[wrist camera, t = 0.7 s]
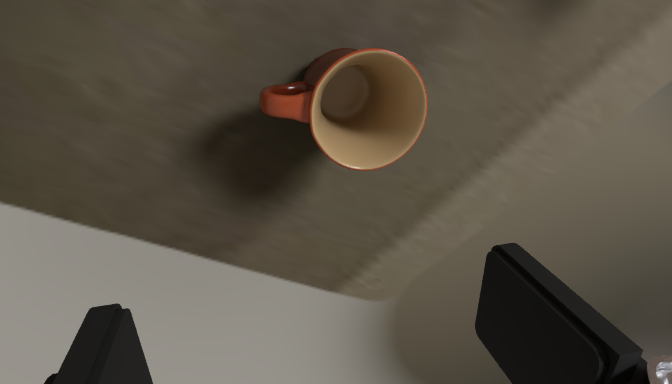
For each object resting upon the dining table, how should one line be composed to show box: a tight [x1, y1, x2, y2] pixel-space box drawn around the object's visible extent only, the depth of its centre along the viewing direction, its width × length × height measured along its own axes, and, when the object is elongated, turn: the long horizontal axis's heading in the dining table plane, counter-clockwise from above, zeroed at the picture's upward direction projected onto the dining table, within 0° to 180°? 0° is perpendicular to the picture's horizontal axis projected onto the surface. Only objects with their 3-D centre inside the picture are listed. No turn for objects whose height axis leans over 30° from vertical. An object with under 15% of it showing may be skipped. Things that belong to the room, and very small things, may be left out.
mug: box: [259, 48, 428, 171], centre depth 32 cm, size 12×9×10 cm
